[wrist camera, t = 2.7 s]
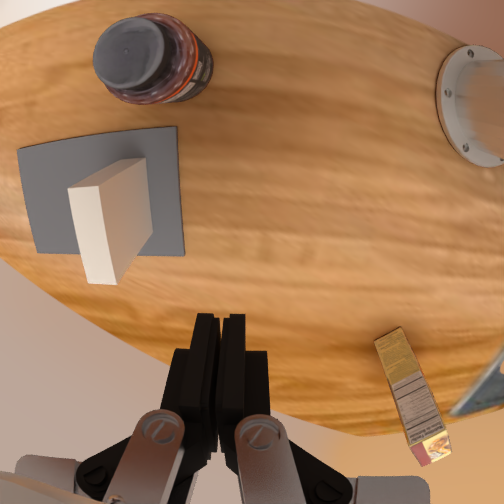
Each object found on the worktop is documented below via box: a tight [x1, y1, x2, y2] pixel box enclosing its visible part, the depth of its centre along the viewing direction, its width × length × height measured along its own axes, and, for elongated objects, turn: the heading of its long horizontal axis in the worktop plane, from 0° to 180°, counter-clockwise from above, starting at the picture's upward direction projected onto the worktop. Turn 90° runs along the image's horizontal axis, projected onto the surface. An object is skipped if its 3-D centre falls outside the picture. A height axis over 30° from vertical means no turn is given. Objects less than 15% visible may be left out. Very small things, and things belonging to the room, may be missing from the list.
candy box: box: [374, 327, 452, 467], centre depth 29 cm, size 9×4×15 cm, turn 34°
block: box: [68, 158, 153, 285], centre depth 22 cm, size 2×7×9 cm, turn 179°
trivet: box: [17, 126, 185, 256], centre depth 27 cm, size 18×12×1 cm, turn 89°
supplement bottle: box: [93, 13, 213, 105], centre depth 17 cm, size 6×6×11 cm
